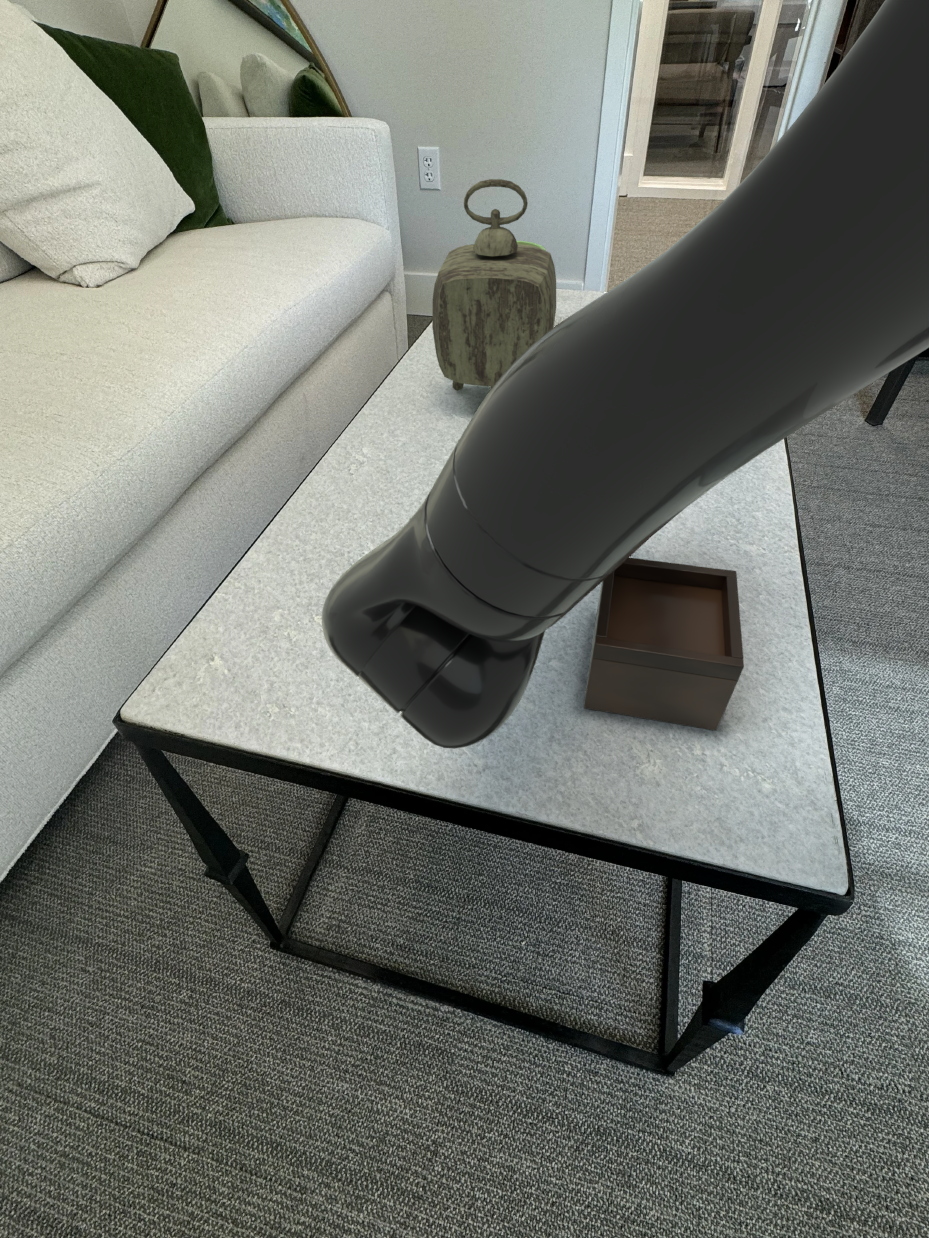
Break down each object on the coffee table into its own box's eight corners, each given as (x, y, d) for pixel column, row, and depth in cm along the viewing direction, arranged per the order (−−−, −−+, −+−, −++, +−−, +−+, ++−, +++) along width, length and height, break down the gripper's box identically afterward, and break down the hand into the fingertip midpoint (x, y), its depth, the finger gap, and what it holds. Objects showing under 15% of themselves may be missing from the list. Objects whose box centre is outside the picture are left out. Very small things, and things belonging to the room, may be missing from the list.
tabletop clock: (550, 388, 88) (565, 170, 70) (546, 421, 82) (561, 191, 64) (446, 384, 90) (435, 170, 72) (435, 416, 84) (419, 191, 66)
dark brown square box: (712, 636, 55) (736, 570, 50) (716, 731, 48) (744, 667, 43) (595, 619, 57) (606, 554, 52) (583, 708, 50) (594, 644, 45)
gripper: (704, 463, 35) (786, 352, 45) (484, 400, 41) (598, 315, 51) (676, 567, 41) (754, 448, 50) (484, 498, 47) (588, 404, 56)
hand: (675, 381), depth 51 cm, fingers closed on beverage can, 6 cm apart
